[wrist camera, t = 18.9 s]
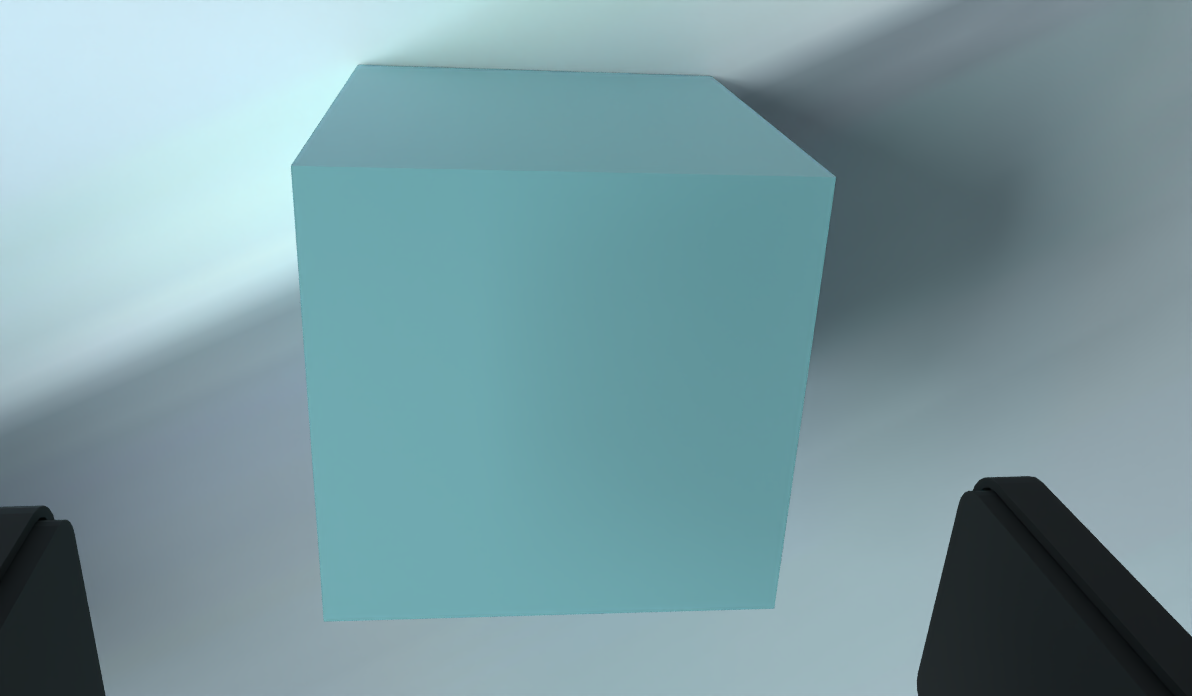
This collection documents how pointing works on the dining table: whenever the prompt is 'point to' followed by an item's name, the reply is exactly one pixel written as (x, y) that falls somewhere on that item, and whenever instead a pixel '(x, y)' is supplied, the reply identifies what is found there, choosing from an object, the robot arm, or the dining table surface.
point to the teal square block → (553, 341)
